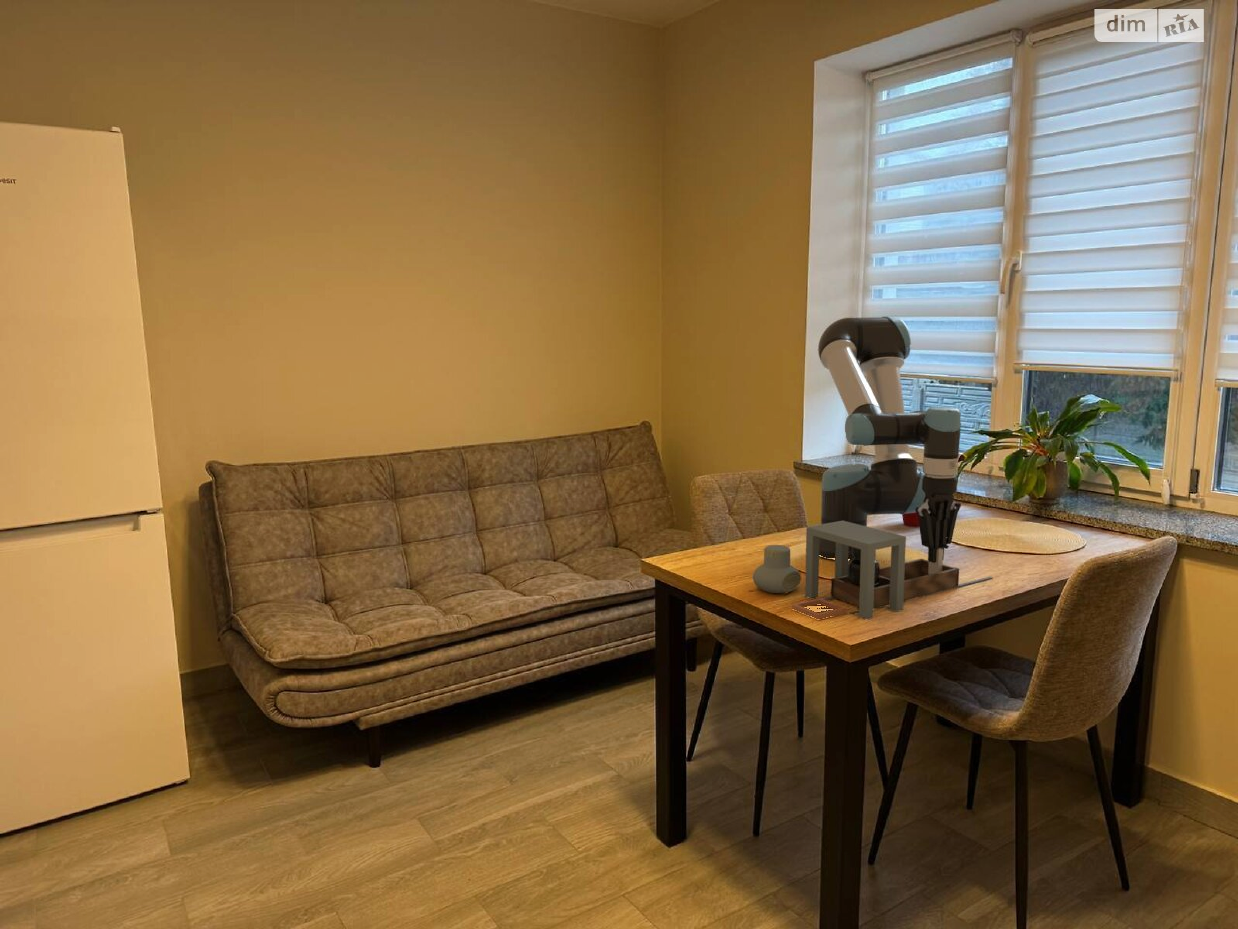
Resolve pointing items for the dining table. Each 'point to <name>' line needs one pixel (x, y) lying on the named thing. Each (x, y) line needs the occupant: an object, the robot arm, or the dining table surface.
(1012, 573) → the dining table surface
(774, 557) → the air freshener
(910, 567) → the divided wooden tray
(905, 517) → the plastic cup
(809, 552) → the tunnel
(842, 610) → the frame
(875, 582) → the supplement bottle
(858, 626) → the dining table surface
